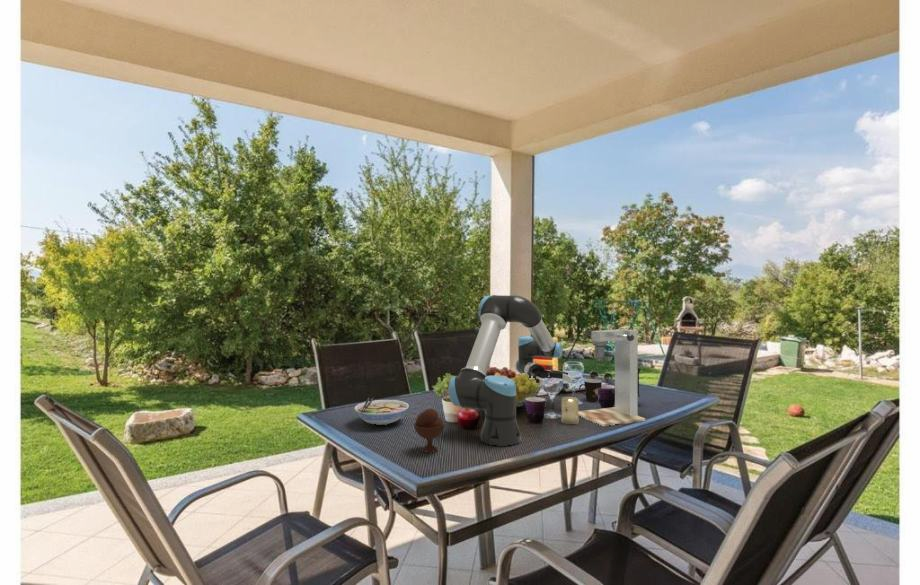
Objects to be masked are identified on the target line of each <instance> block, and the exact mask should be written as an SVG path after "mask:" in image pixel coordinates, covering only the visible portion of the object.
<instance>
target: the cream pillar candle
mask: <svg viewBox="0 0 920 585" xmlns="http://www.w3.org/2000/svg"><path fill="white" fill-rule="evenodd" d="M579 404H580V403H579V398H578V397H574V396H564V397H561V423H562V424H564V423H565V424H564V425H568V424H576V425H578V424H579V417H580V416H579V411H580V410H579V407H580V406H579Z"/></svg>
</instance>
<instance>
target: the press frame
mask: <svg viewBox="0 0 920 585" xmlns="http://www.w3.org/2000/svg"><path fill="white" fill-rule="evenodd" d="M638 338H639V337H638V330H633V329H625V328H624V329H623V328H618V329H617V328H615V329H606V330H605V329H603V330H602V329H601V330H591V339H590V340H591V341H592V346H594V359H595V360H599V361H602V360H603V361H604V360H605V346H607V342H614V407H615V411H617V412H620V413H622V414H625V415H627V416H639V414H638V410H639V409H638V403H639V402H638V398H639V397H638V368H639V366H638V359H639V358H638V347H639V346H638Z"/></svg>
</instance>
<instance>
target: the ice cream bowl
mask: <svg viewBox="0 0 920 585" xmlns="http://www.w3.org/2000/svg"><path fill="white" fill-rule="evenodd" d="M415 420H416V421H415V422H414V424H413V427H414V430H415V432H416V434H418V436H420V437H422V439H425V440H426V441H427V442H426V443H427V444H426V445H424V446H423V447H422V449H421V451H422V450H423V451H427V452H433V451H436V450H437V449H438V447H437V446H435V445H434V444H433V440H434V439H436V438H439V436H441V434H442V432H443V430H444V428H445V425H446V422H445V421H444V420H443V419H442V417H439V414H438V411H437V410H436V409H433V408H426V409H425V410H424V411H422V412H420V413H419V414H418V415H417V417H416V419H415ZM423 451H422V452H423ZM437 451H438V450H437ZM437 451H436V452H437Z"/></svg>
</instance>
